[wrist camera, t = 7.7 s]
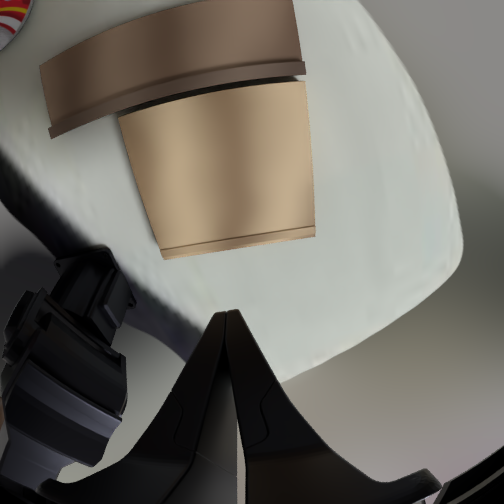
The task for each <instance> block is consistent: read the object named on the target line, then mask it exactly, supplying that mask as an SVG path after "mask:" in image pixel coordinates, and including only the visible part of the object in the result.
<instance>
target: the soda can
mask: <svg viewBox="0 0 504 504" xmlns="http://www.w3.org/2000/svg"><path fill="white" fill-rule="evenodd" d="M33 1H34V0H0V51H1V50H2V49H3V48H4V47H5V46H6V45H7V44H8V43H9V42H10V41H11V40H12V39H13V38H14V37H15V36H16V35H17V34H18V32H19V31H20V30H21V28H22V27H23V25H24V23H25V22H26V20H27V18H28V16H29V14H30V11H31V8H32V5H33Z"/></svg>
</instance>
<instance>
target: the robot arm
mask: <svg viewBox="0 0 504 504" xmlns="http://www.w3.org/2000/svg"><path fill="white" fill-rule="evenodd" d="M105 254H107V256H106V255H105ZM54 265H55V267H56V269H57V271H58V273H59V274H60V276H61V277H60V279H59V280H58V282H57V284H56V286H55V287H54V289H53V290H52V292H51V294H50V295H48V294H47V291H45V289H44V288H41V289H40V290H39V291H38V292H37V293H35V292H30V291H27V290H26V291H25V293H24V294H23V295H22V297H21V298H20V300H19V302H18V303H17V305H16V307H15V309H14V310H13V312H12V314H11V316H10V318H9V320H8V322H7V325H6V327H5V329H4V337H5V344H4V350H3V354H2V359H3V360H4V361H6V364H5V366H4V368H3V371H2V373H1V375H0V383H1V396H2V404H3V412H4V418H5V419H4V422H3V425H2V428H1V430H0V504H237V477H236V476H237V420H238V425H239V431H240V436H241V441H242V447H243V450H244V457H245V466H246V485H245V486H246V487H245V490H246V491H245V493H246V494H245V504H426V503H425V498H427V497H429V496H430V495H432V494H434V493H436V492H437V491H439V490H440V489H441V488H442V490H441V491H440V493H439V494H438V496H437V498H436V500H435V502H434V503H433V504H504V446H502V447H501V448H499V449H498V450H496V451H495V452H494V453H492V454H491V455H490V456H488V457H487V458H485V459H484V460H482V461H481V462H479V463H478V464H476V465H475V466H473V467H472V468H470V469H468V470H467V471H465V472H463V473H462V474H460V475H458V476H457V477H455V478H453V479H451V480H450V481H448V482H446V483H444V485H443V487H442V485H441V483H440V482H439V481H438V480H437V479H436V478H435V477H434V475H432V474H431V473H430V471H429V470H428V469H422V470H419V471H417V472H415V473H412V474H410V475H408V476H405V477H403V478H400V479H398V480H395V481H392V482H379V481H375V480H373V479H371V478H370V477H368V476H367V475H366V474H364V473H363V472H361V471H360V470H359V469H357V468H356V467H354V466H353V465H352V464H350V463H349V462H347V461H346V460H345V459H344V458H342V457H341V456H340V455H338V454H337V453H336V452H335V451H333V450H332V449H331V448H330V447H329V446H328V445H327V444H326V443H325V442H324V441H323V439H321V437H320V436H319V435H318V434H317V433H316V432H315V430H314V429H313V428H312V427H311V426H310V425H309V424H308V422H307V421H306V420H305V419H304V417H303V416H302V415H301V414H300V413H299V411H298V410H297V409H296V408H295V406H294V405H293V404H292V403H291V401H290V400H289V398H288V396H287V395H286V393H285V392H284V390H283V388H282V387H281V385H280V383H279V381H278V380H277V378H276V376H275V375H274V373H273V371H272V369H271V367H270V366H269V364H268V362H267V360H266V359H265V357H264V355H263V353H262V351H261V350H260V348H259V346H258V344H257V342H256V340H255V339H254V337H253V335H252V333H251V331H250V329H249V328H248V326H247V324H246V322H245V320H244V318H243V316H242V315H241V313H240V311H239V310H238V309H234V310H228V311H227V312H226V311H222V312H216V313H214V315H213V316H212V318H211V320H210V322H209V324H208V325H207V327H206V329H205V331H204V332H203V334H202V336H201V338H200V340H199V341H198V343H197V345H196V347H195V349H194V350H193V352H192V354H191V356H190V357H189V359H188V361H187V363H186V365H185V366H184V368H183V370H182V372H181V374H180V375H179V377H178V379H177V381H176V383H175V384H174V386H173V388H172V392H170V393H169V395H168V397H167V399H166V400H165V402H164V404H163V405H162V407H161V409H160V410H159V412H158V413H157V415H156V416H155V418H154V419H153V421H152V422H151V424H150V425H149V426H148V428H147V429H146V431H145V432H144V433H143V435H142V436H141V437H140V439H139V440H138V442H137V443H136V444H135V445H134V447H133V448H132V449H131V451H130V452H129V453H128V454H127V455H126V456H125V457H124V458H123V459H121V460H120V461H118V462H117V463H115V464H113V465H111V466H109V467H107V468H105V469H103V470H101V471H99V472H96V473H94V474H92V475H90V476H88V477H86V478H84V479H81V480H79V481H77V482H73V483H62V482H59V481H56V479H57V477H58V475H59V473H60V471H61V469H62V468H63V467H65V466H67V465H69V464H72V463H74V462H79V463H81V464H83V465H86V466H88V467H94V466H95V465H96V464H97V463H98V462H99V461H100V460H101V459H102V457H103V454H104V452H105V448H106V446H107V443H108V441H109V439H110V437H111V435H112V433H113V432H114V430H115V429H116V427H118V425H119V424H120V423H121V422H122V418H121V416H122V414H123V412H124V410H125V407H126V404H127V378H126V357H125V356H124V355H122V354H121V353H118V352H116V351H115V350H113V349H112V348H111V347H110V346H111V344H112V341H113V338H114V335H115V331H116V329H117V328H120V327H121V324H122V321H123V318H124V315H125V312H126V309H134V308H135V307H136V300H135V298H134V297H133V295H132V291H131V289H130V287H129V286H128V284H127V282H126V280H125V278H124V276H123V274H122V272H121V271H120V269H119V267H118V265H117V263H116V261H115V259H114V257H113V254H112V252H111V251H110V250H109V249H107V248H103V249H98V250H93V251H88V252H83V253H78V254H74V255H69V256H64V257H60V258H57V259H56V260H55V261H54Z"/></svg>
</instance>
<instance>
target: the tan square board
mask: <svg viewBox="0 0 504 504" xmlns="http://www.w3.org/2000/svg"><path fill="white" fill-rule="evenodd" d="M118 120H119V124H120V127H121V131H122V135H123V139H124V142H125V146H126V149H127V153H128V156H129V160H130V163H131V166H132V170H133V173H134V176H135V179H136V182H137V185H138V189H139V192H140V195H141V198H142V201H143V204H144V207H145V209H146V212H147V215H148V218H149V221H150V224H151V226H152V229H153V232H154V235H155V237H156V240H157V243H158V245H159V248H160V252H161V255H162V257H163V258H164V260H167V259H173V258H180V257H186V256H192V255H199V254H205V253H211V252H218V251H224V250H231V249H237V248H244V247H250V246H257V245H263V244H270V243H276V242H283V241H289V240H296V239H302V238H309V237H315V234H316V230H315V207H314V183H313V165H312V150H311V136H310V124H309V113H308V103H307V94H306V85H305V81H289V82H277V83H267V84H259V85H251V86H243V87H237V88H230V89H224V90H219V91H213V92H208V93H203V94H199V95H194V96H189V97H185V98H181V99H177V100H173V101H169V102H165V103H161V104H158V105H154V106H151V107H147V108H144V109H141V110H137V111H134V112H131V113H128V114H125V115H123V116H121V117H118Z"/></svg>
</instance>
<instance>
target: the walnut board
mask: <svg viewBox="0 0 504 504" xmlns="http://www.w3.org/2000/svg"><path fill="white" fill-rule="evenodd" d="M40 73H41V79H42V84H43V89H44V94H45V99H46V104H47V108H48V112H49V116H50V121H51V124H52V127H50V128H48V130H49V134H50V137H51V139H53V138H55V137H57V136H59V135H61V134H63V133H66V132H68V131H70V130H72V129H74V128H77V127H79V126H81V125H84V124H86V123H89V122H91V121H93V120H96V119H99V118H101V117H104V116H106V115H109V114H112V113H115V112H117V111H120V110H123V109H126V108H129V107H132V106H135V105H138V104H142V103H145V102H148V101H152V100H155V99H159V98H162V97H166V96H170V95H174V94H178V93H182V92H186V91H190V90H195V89H199V88H204V87H209V86H214V85H220V84H226V83H232V82H238V81H245V80H252V79H261V78H270V77H280V76H294V75H306V69H305V61H302V56H301V49H300V42H299V36H298V30H297V24H296V18H295V12H294V7H293V2H292V0H206V1H201V2H196V3H191V4H187V5H183V6H179V7H175V8H171V9H167V10H164V11H160V12H157V13H153V14H150V15H147V16H144V17H141V18H138V19H135V20H132V21H130V22H127V23H124V24H122V25H119V26H117V27H114V28H112V29H109V30H107V31H105V32H102V33H100V34H98V35H96V36H93V37H91V38H89V39H87V40H85V41H83V42H81V43H79V44H77V45H75V46H73V47H71V48H69V49H68V50H66V51H64V52H62V53H60V54H59V55H57V56H55V57H53V58H52V59H50V60H48V61H47V62H45V63H43V64H42V65H40Z"/></svg>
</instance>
